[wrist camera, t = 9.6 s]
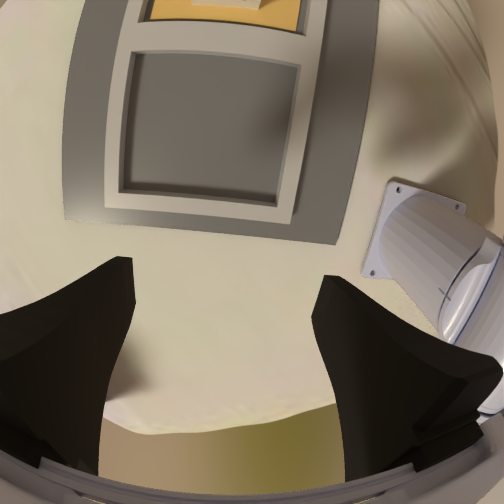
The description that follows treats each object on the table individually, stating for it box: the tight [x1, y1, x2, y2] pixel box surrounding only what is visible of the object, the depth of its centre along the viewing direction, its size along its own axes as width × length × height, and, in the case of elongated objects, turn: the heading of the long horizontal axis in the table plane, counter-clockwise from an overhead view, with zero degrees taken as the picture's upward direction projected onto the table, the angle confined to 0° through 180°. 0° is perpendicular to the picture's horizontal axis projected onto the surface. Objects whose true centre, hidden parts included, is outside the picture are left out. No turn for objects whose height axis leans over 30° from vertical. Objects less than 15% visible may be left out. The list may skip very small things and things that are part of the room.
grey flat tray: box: [62, 0, 379, 245], centre depth 13 cm, size 20×25×2 cm
